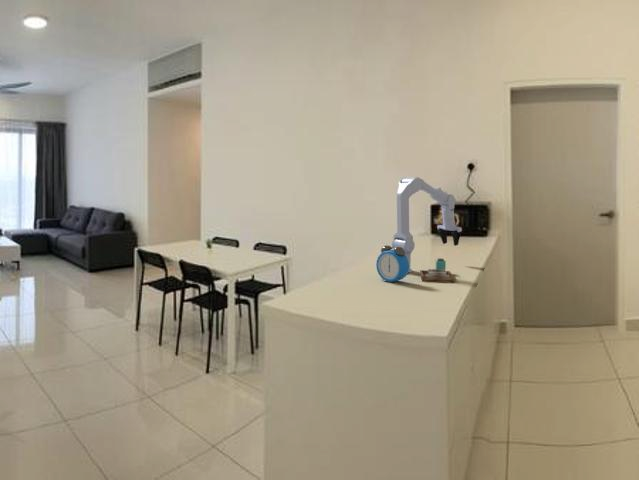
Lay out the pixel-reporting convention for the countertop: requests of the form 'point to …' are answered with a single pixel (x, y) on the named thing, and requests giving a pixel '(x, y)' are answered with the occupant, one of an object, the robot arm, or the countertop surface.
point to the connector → (440, 264)
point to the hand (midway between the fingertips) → (450, 244)
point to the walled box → (436, 275)
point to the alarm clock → (392, 264)
